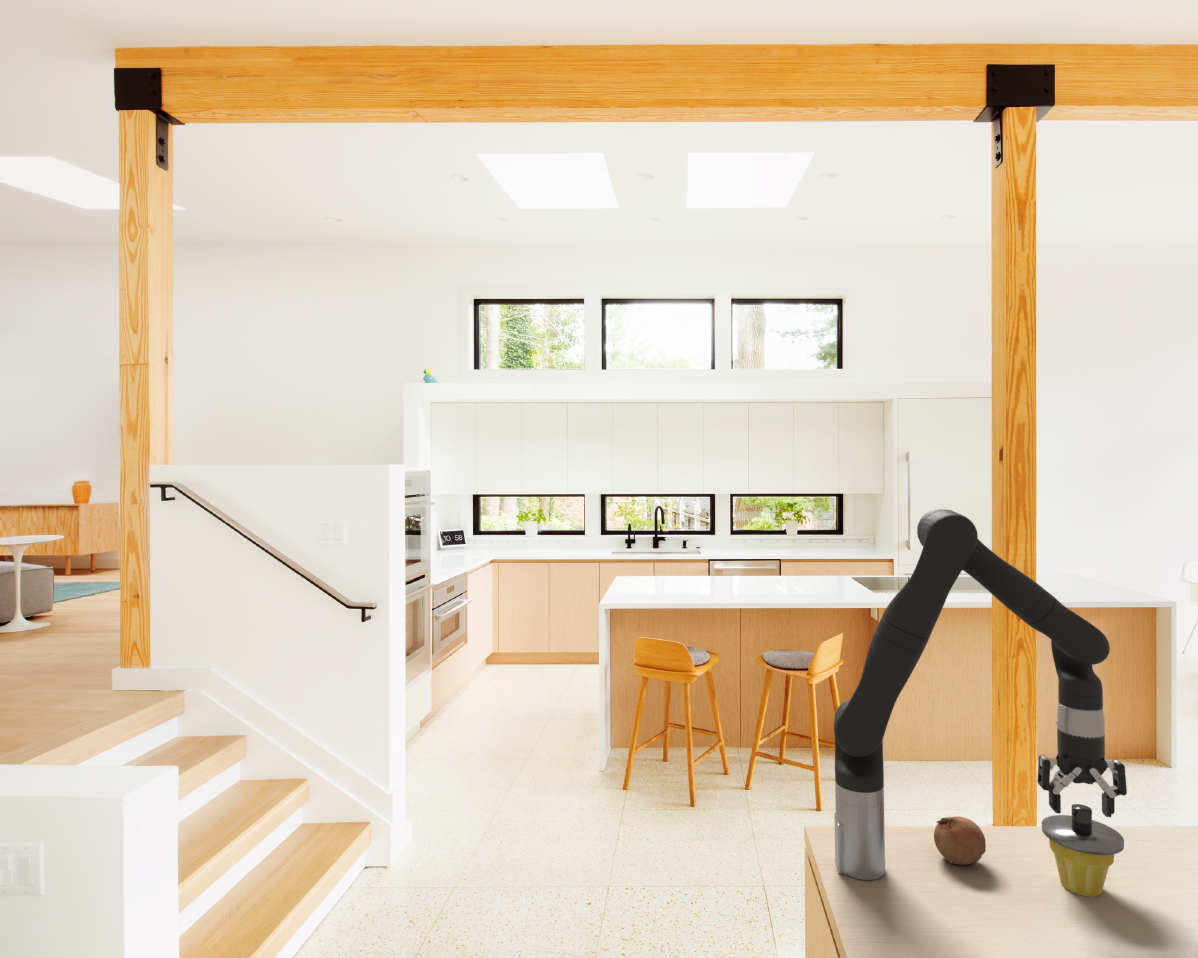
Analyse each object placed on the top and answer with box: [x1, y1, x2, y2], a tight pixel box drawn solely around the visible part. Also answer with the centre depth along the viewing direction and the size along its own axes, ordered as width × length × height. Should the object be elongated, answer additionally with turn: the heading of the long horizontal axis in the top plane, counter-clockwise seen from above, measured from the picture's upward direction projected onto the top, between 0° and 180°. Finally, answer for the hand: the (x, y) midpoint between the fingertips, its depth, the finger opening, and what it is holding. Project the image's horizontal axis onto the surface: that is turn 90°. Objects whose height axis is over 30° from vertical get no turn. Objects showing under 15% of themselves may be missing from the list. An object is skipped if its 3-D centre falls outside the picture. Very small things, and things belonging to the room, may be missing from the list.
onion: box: [933, 816, 987, 865], centre depth 148 cm, size 10×9×10 cm
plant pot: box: [1048, 838, 1115, 898], centre depth 139 cm, size 10×10×10 cm
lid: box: [1041, 803, 1125, 855], centre depth 138 cm, size 13×13×6 cm
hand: (1081, 813), depth 138 cm, fingers open, 8 cm apart
